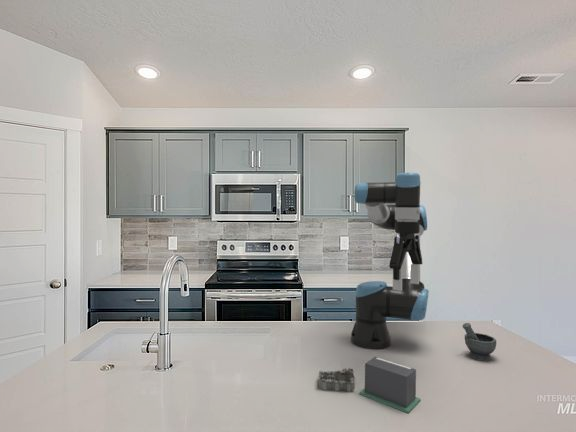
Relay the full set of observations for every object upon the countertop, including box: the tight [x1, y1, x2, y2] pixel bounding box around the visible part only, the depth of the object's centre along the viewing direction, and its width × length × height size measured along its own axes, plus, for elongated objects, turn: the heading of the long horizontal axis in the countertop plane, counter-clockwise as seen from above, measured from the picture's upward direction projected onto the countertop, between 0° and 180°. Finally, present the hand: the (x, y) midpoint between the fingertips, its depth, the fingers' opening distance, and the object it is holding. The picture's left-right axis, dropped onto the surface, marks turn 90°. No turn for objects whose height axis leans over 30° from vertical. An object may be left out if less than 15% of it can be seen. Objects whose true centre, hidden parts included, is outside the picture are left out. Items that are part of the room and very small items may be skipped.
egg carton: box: [318, 367, 356, 393], centre depth 102 cm, size 11×8×4 cm
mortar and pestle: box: [462, 322, 497, 361], centre depth 124 cm, size 11×9×12 cm
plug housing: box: [364, 356, 417, 408], centre depth 96 cm, size 12×6×8 cm, turn 48°
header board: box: [359, 387, 421, 414], centre depth 96 cm, size 14×8×6 cm, turn 48°
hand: (406, 286), depth 113 cm, fingers open, 13 cm apart
